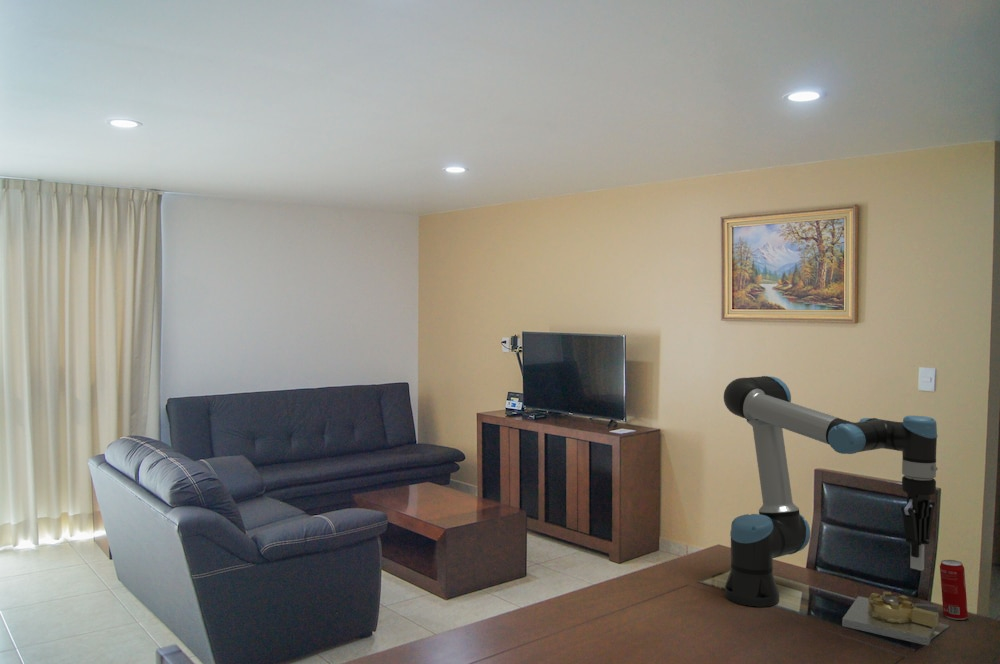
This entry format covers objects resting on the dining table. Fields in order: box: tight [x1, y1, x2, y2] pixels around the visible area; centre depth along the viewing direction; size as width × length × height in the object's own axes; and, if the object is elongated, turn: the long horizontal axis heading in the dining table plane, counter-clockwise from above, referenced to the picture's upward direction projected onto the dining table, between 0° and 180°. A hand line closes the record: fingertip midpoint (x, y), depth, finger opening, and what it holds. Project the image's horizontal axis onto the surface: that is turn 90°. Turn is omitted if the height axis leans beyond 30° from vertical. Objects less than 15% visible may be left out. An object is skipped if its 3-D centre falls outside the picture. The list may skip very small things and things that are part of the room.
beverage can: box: [939, 559, 969, 621], centre depth 201 cm, size 6×6×15 cm
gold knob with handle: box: [867, 590, 939, 629], centre depth 195 cm, size 16×11×4 cm, turn 44°
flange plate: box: [841, 595, 940, 647], centre depth 196 cm, size 20×20×6 cm
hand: (917, 568), depth 187 cm, fingers closed
